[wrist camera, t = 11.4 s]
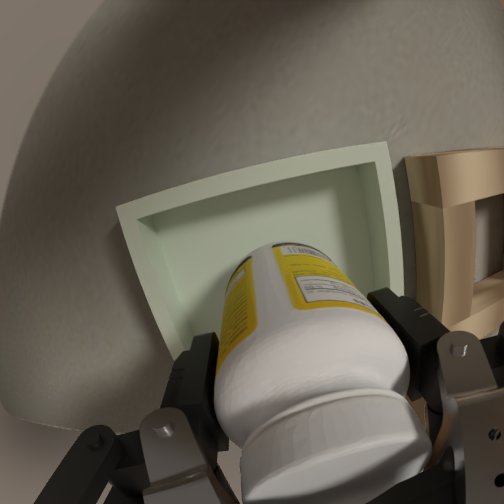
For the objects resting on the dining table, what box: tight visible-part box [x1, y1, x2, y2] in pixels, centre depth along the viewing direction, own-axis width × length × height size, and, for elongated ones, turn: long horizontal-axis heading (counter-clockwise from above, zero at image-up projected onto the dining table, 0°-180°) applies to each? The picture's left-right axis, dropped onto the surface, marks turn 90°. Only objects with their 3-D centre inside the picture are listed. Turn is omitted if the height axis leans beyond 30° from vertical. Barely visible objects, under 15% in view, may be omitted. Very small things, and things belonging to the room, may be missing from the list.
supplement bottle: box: [214, 241, 432, 504], centre depth 8 cm, size 5×5×10 cm
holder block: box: [404, 147, 504, 340], centre depth 13 cm, size 12×12×3 cm
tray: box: [116, 141, 404, 362], centre depth 14 cm, size 12×12×2 cm
